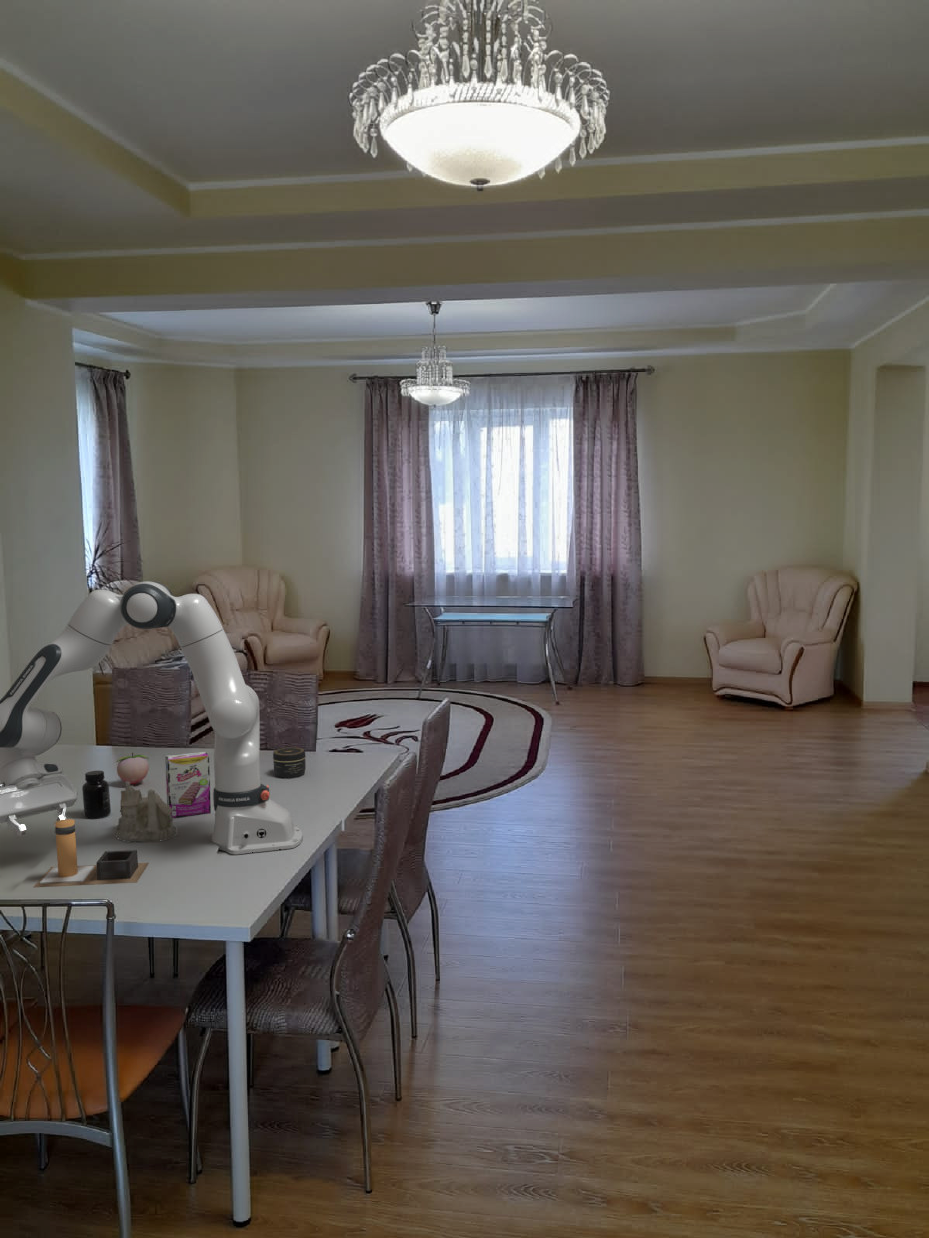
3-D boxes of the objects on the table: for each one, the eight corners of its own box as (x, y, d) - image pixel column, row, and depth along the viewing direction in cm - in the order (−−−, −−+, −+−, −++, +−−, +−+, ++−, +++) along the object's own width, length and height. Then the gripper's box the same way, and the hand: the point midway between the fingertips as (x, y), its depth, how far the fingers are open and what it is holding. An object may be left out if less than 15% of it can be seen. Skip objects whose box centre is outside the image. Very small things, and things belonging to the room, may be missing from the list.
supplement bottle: (104, 809, 271) (101, 767, 270) (115, 815, 266) (112, 772, 265) (79, 815, 266) (77, 772, 265) (90, 821, 262) (87, 777, 260)
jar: (311, 775, 303) (310, 751, 302) (281, 781, 297) (280, 756, 297) (297, 768, 311) (297, 745, 310) (268, 774, 306) (267, 750, 305)
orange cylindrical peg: (80, 869, 221) (77, 818, 219) (74, 876, 216) (71, 824, 215) (61, 870, 220) (58, 819, 219) (55, 877, 216) (52, 825, 215)
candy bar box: (169, 819, 262) (166, 759, 260) (167, 814, 266) (164, 755, 265) (212, 813, 267) (209, 754, 265) (208, 808, 271) (206, 750, 269)
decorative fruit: (124, 790, 289) (123, 757, 288) (114, 785, 295) (112, 753, 294) (155, 784, 295) (153, 752, 294) (144, 779, 301) (142, 747, 300)
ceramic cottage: (166, 842, 243) (162, 782, 243) (104, 843, 246) (100, 784, 245) (191, 826, 259) (188, 769, 258) (132, 826, 261) (129, 771, 260)
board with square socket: (149, 868, 226) (148, 845, 225) (137, 888, 214) (135, 864, 213) (51, 873, 224) (49, 850, 223) (33, 893, 212) (31, 869, 211)
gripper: (-21, 780, 220) (0, 832, 215) (67, 763, 235) (89, 810, 230) (-28, 796, 224) (-7, 847, 218) (59, 777, 239) (81, 824, 233)
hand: (43, 828), depth 224 cm, fingers open, 8 cm apart
